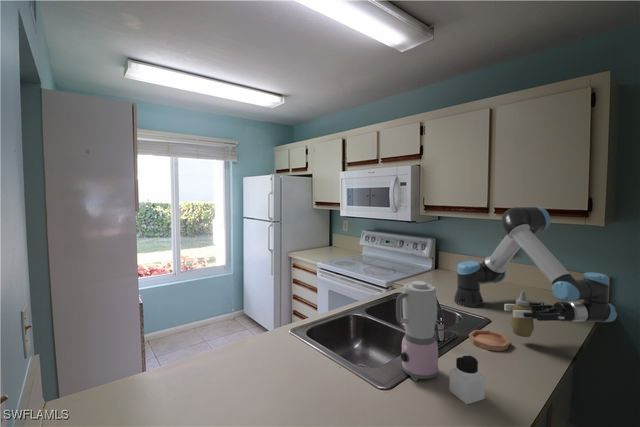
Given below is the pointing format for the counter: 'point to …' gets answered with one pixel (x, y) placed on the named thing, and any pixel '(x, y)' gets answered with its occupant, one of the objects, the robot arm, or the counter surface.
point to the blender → (418, 329)
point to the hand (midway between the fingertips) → (509, 310)
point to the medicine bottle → (467, 380)
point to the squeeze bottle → (522, 325)
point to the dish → (489, 340)
